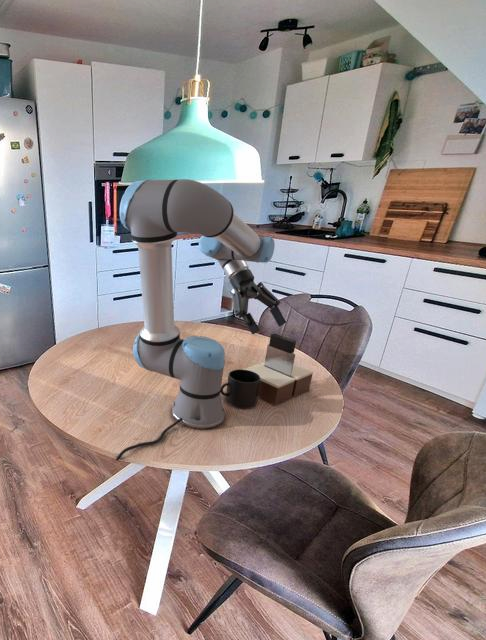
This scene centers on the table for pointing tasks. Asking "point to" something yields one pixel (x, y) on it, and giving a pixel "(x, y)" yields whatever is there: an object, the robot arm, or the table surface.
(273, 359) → the dough scraper
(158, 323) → the robot arm
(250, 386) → the mug
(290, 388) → the split beige slab
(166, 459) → the table surface
